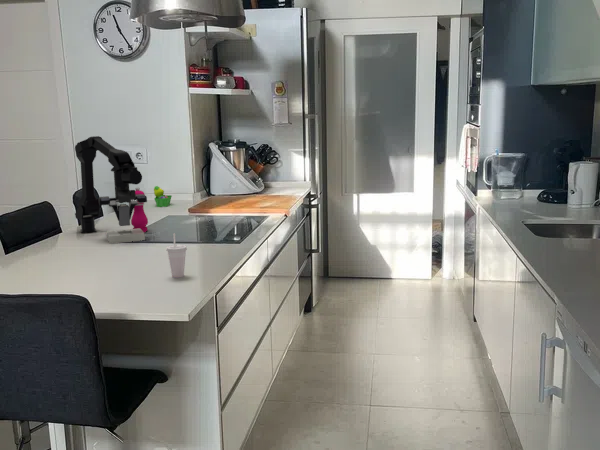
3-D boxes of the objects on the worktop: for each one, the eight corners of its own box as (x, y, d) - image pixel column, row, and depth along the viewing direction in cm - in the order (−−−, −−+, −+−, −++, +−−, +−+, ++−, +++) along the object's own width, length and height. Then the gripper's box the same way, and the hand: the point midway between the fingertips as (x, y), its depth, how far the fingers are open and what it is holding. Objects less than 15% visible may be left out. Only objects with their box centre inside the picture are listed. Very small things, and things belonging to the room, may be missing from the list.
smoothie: (169, 273, 195) (166, 231, 193) (189, 273, 196) (187, 231, 193) (166, 279, 189) (164, 235, 186) (187, 278, 189) (185, 235, 187)
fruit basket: (168, 207, 334) (166, 187, 332) (152, 207, 334) (151, 187, 332) (172, 204, 345) (171, 184, 343) (157, 204, 345) (156, 184, 343)
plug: (119, 224, 250) (117, 204, 248) (128, 223, 251) (127, 203, 250) (120, 226, 246) (118, 205, 245) (130, 225, 248) (128, 204, 246)
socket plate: (106, 238, 253) (106, 230, 252) (140, 235, 258) (140, 228, 257) (109, 243, 242) (109, 236, 241) (144, 240, 247) (144, 233, 247)
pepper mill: (144, 233, 261) (141, 188, 258) (128, 233, 263) (125, 187, 259) (151, 230, 268) (148, 185, 265) (136, 229, 270) (133, 185, 266)
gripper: (99, 186, 235) (102, 225, 238) (148, 183, 242) (150, 221, 245) (97, 183, 245) (99, 220, 248) (143, 180, 252) (145, 217, 255)
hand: (124, 220), depth 248 cm, fingers closed on plug, 4 cm apart
